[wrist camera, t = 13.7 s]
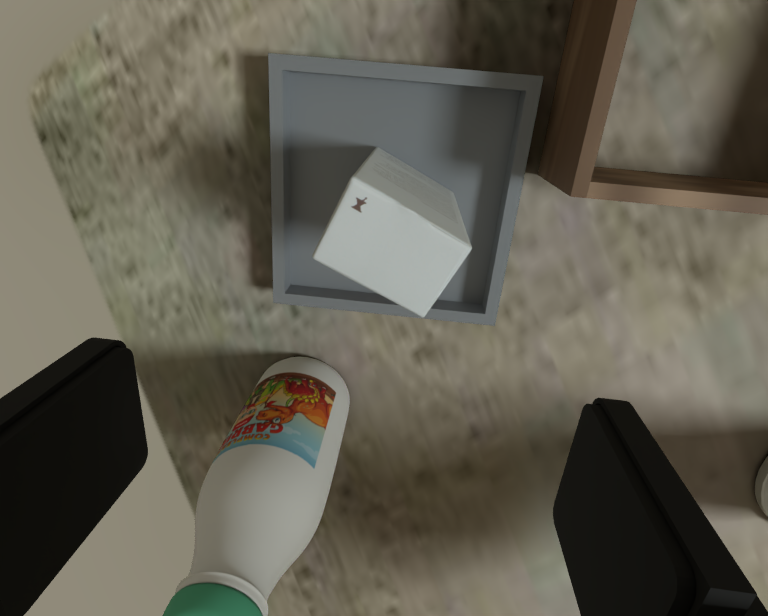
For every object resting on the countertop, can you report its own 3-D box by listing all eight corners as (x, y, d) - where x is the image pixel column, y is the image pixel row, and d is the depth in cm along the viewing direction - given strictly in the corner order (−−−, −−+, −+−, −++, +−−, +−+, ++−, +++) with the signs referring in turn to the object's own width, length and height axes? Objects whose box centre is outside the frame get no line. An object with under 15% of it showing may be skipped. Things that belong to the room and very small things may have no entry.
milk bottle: (370, 393, 39) (323, 655, 21) (312, 445, 41) (226, 718, 23) (297, 335, 37) (174, 565, 19) (242, 393, 40) (88, 644, 22)
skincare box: (346, 202, 32) (305, 257, 21) (376, 144, 30) (350, 171, 19) (423, 247, 32) (423, 322, 22) (457, 193, 31) (476, 245, 20)
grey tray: (534, 77, 28) (543, 76, 26) (490, 310, 35) (494, 325, 33) (280, 56, 29) (268, 53, 27) (282, 289, 35) (273, 302, 33)
